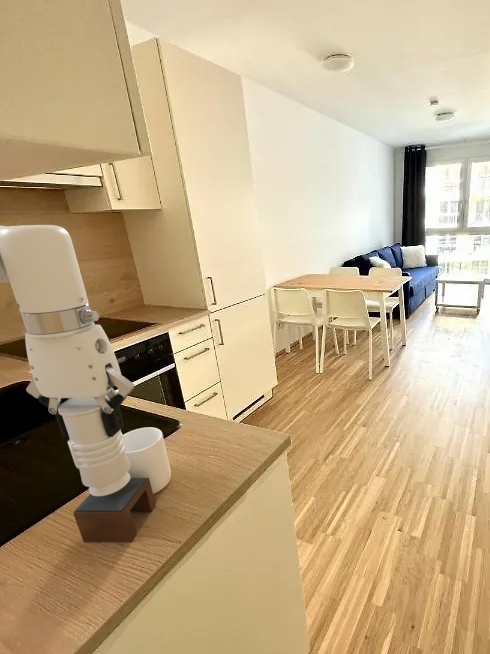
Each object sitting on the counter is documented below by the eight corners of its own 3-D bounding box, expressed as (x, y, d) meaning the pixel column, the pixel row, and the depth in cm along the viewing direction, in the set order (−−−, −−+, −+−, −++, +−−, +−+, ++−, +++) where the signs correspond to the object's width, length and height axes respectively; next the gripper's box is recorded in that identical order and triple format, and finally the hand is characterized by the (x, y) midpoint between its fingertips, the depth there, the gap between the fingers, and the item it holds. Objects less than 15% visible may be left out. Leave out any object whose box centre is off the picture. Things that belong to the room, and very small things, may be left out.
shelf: (83, 542, 58) (72, 511, 56) (113, 505, 66) (104, 476, 64) (131, 542, 58) (122, 511, 56) (156, 505, 66) (148, 476, 63)
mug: (142, 460, 78) (131, 419, 74) (182, 456, 79) (173, 415, 75) (118, 501, 67) (104, 454, 63) (164, 496, 68) (153, 450, 64)
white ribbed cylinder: (78, 485, 59) (50, 404, 53) (123, 464, 64) (102, 388, 58) (93, 505, 54) (64, 419, 49) (140, 480, 59) (119, 400, 54)
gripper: (136, 312, 52) (160, 418, 59) (22, 314, 53) (58, 419, 59) (104, 326, 45) (135, 446, 52) (-28, 329, 46) (19, 447, 52)
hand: (93, 431), depth 55 cm, fingers closed on white ribbed cylinder, 6 cm apart
